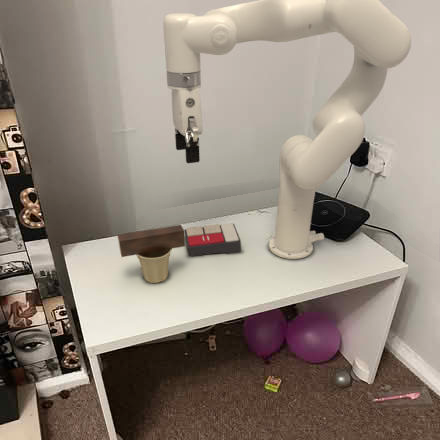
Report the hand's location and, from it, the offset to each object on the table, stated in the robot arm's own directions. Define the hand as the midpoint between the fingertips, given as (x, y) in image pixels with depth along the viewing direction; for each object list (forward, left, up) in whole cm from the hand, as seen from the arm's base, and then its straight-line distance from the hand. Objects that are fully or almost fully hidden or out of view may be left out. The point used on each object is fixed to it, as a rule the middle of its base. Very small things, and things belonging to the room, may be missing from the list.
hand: (187, 155), depth 107 cm
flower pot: (+12, +8, -28) cm, 32 cm away
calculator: (-7, -3, -28) cm, 30 cm away
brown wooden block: (+12, +8, -20) cm, 24 cm away
